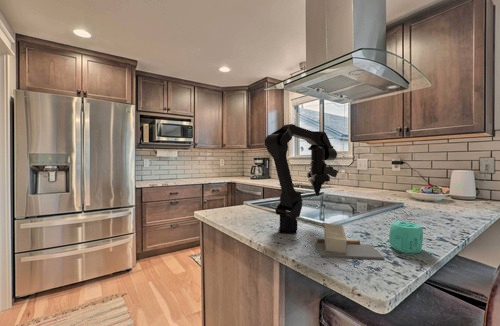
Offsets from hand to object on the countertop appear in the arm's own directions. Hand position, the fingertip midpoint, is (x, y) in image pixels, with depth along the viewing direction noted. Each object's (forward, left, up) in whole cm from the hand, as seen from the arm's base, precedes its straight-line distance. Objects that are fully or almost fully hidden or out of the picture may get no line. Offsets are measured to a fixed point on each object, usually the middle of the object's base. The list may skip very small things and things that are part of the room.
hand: (317, 195), depth 106 cm
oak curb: (+2, -25, -12) cm, 28 cm away
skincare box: (+1, -22, -8) cm, 24 cm away
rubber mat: (+3, -31, -12) cm, 34 cm away
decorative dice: (+23, -27, -13) cm, 38 cm away
